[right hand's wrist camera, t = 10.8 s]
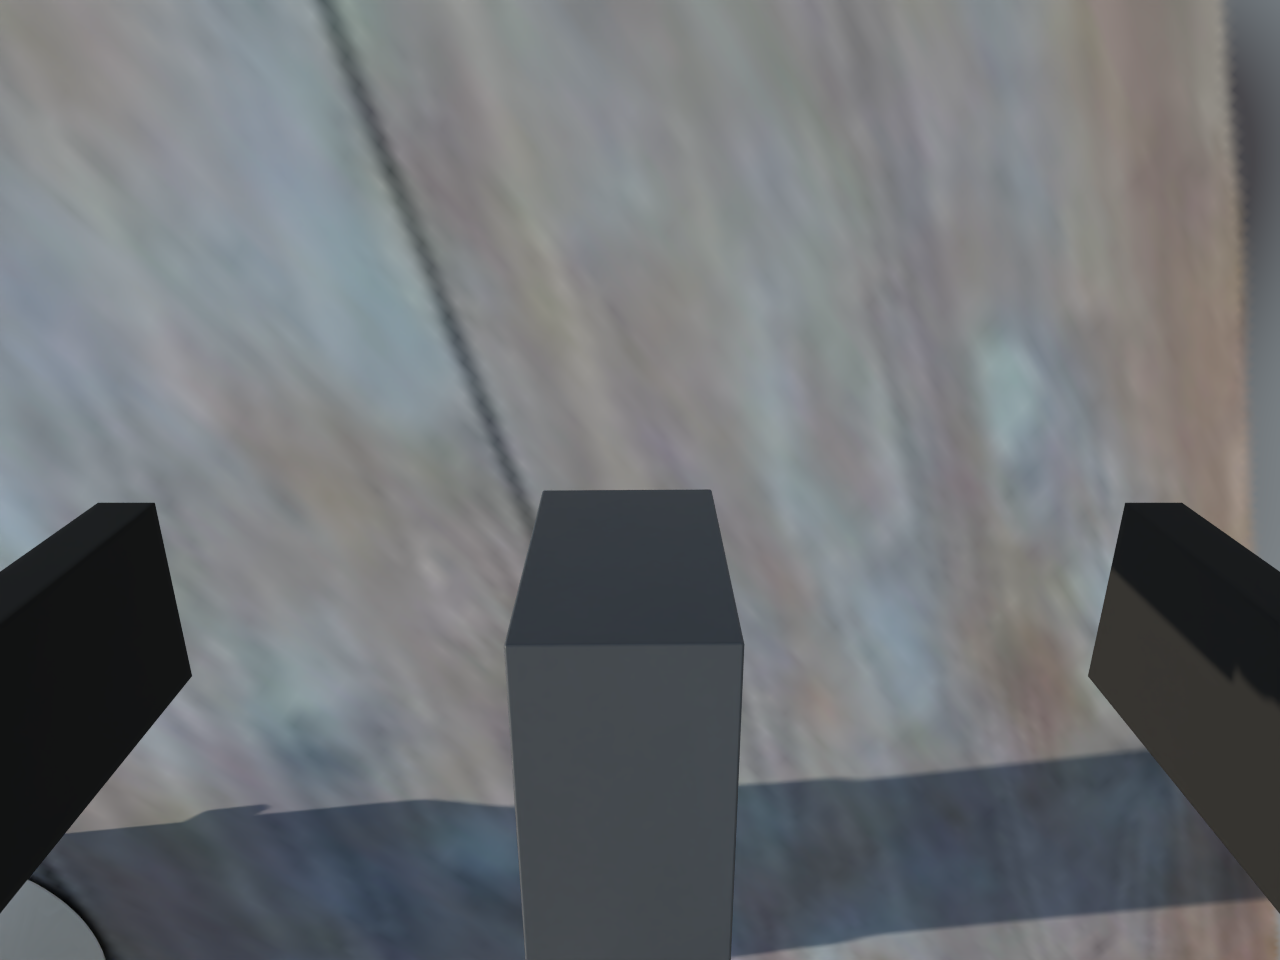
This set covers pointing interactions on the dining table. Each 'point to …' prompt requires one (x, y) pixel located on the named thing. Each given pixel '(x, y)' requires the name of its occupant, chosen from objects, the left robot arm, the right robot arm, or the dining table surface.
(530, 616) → the bar
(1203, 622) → the right robot arm
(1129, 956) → the dining table surface
